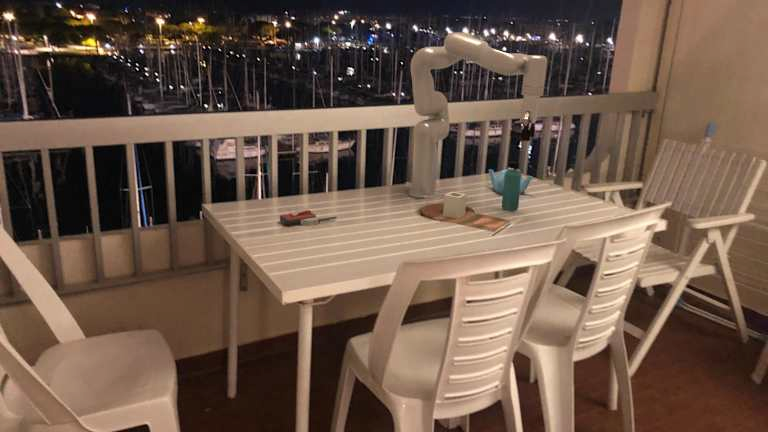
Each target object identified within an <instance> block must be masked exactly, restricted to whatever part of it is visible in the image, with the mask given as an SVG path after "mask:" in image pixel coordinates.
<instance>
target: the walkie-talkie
mask: <svg viewBox="0 0 768 432" xmlns="http://www.w3.org/2000/svg"><path fill="white" fill-rule="evenodd" d="M336 219H338V218H337V216H330V217H323V218H317V215H316V214H315V213H314V212H311V210H309V209H307V208H304V209H298V210H296V211H295V212H291V211H290V212H289V213H288V214H281V215H279V223H280V222H281V223H280V224H282V225H283V226H284V227H286V226H288V228H290V227H294V226H295V227H296V226H307V227H308V226H309V227H310V226H314V225H315V226H316V225H319V223H321V222H327V221H330V220H336Z"/></svg>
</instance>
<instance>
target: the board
mask: <svg viewBox="0 0 768 432" xmlns="http://www.w3.org/2000/svg"><path fill="white" fill-rule="evenodd" d="M432 219H435V220H437V221H443V222H447V223H452V224H455V225H460V226H466V227H471V228H474V229H475V228H476V229H479V230H484V231H487V232H495V231H496V232H495V233H493V234H492V235H491V236H492V237H493V236H495V235H497V234H498V233H500V232H501V231H503V230H505V228H507V227H509V226H510V225H511V223H510V222H511V220H510V219H506V218H501V217H496V216H493V215H492V216H491V215H486V214H481V213H477V212H472V211H467V210H465V215H464V216H463V217H461V218H459V219H455V218H451V217H446V216H443V212H441V213H439V214H437V215H435V216H433V217H432ZM503 226H504V227H503ZM500 228H501V229H500ZM499 229H500V230H499ZM497 230H498V231H497Z"/></svg>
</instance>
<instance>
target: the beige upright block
mask: <svg viewBox="0 0 768 432" xmlns="http://www.w3.org/2000/svg"><path fill="white" fill-rule="evenodd" d="M443 199H444V200H443V208H442V209H443V211H442V213H443V216H446V217H451V218H455V219H459V218H461V217H463V216H464V215H465V211H466V208H467V205H466V204H467V193H462V192H461V193H460V192H456V191H449V192H448V193H446V194H444V196H443Z"/></svg>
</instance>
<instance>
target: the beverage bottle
mask: <svg viewBox="0 0 768 432" xmlns="http://www.w3.org/2000/svg"><path fill="white" fill-rule="evenodd" d="M507 168H513V169H514V170H508V169H507V170H508V171H506V172H505V178H504V186H503V194H502V197H501V198H502V200H501V209H502V210H503V211H508V212H515V211H518V209H519V207H520V206H519V205H520V204H519V203H520V194H519V193H520V181H521V175H522V172H521V171H520V172H519V171H517V169H518V170H519V169H520V162H519V161H509V162H508V164H507Z"/></svg>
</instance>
